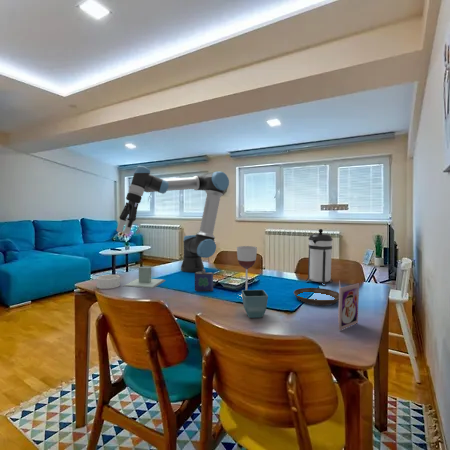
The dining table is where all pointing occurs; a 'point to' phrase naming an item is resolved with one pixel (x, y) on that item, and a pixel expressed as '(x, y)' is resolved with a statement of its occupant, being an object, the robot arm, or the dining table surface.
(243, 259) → the wineglass
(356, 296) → the greeting card
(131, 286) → the mat
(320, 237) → the coffee press
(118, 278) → the bowl
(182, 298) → the dining table surface
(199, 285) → the flask
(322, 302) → the plant saucer
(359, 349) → the dining table surface
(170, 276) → the dining table surface
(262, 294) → the flower pot
